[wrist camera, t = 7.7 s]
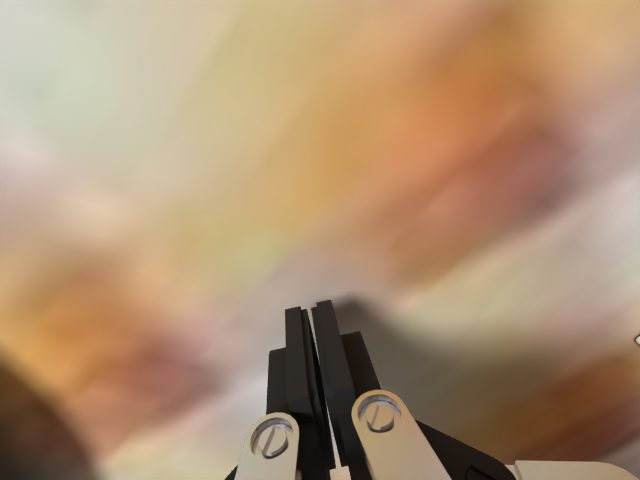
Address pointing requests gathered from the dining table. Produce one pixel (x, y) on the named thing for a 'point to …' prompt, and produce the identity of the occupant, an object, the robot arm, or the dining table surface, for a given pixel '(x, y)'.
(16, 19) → the dining table surface
